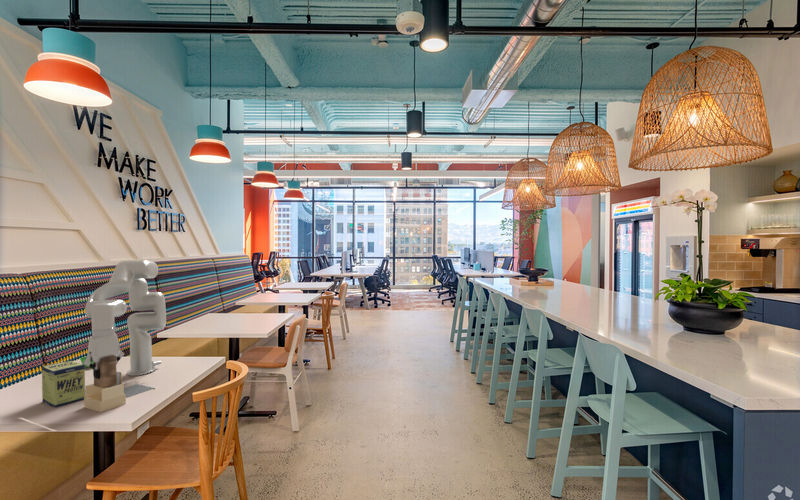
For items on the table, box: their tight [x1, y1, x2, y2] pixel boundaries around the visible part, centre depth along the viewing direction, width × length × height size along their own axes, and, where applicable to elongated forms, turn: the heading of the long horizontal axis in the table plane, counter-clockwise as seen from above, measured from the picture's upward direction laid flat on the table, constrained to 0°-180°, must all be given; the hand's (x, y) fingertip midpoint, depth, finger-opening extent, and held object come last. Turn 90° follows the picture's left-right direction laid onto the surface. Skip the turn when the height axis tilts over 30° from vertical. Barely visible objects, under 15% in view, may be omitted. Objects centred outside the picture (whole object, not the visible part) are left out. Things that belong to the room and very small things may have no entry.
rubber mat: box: [124, 383, 156, 399], centre depth 177 cm, size 14×14×1 cm
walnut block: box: [93, 356, 118, 388], centre depth 162 cm, size 5×7×12 cm
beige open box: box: [83, 383, 127, 413], centre depth 161 cm, size 9×12×9 cm
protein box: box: [41, 360, 86, 408], centre depth 168 cm, size 10×16×16 cm
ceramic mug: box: [108, 371, 123, 388], centre depth 185 cm, size 11×8×8 cm
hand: (105, 375), depth 162 cm, fingers closed on walnut block, 5 cm apart
